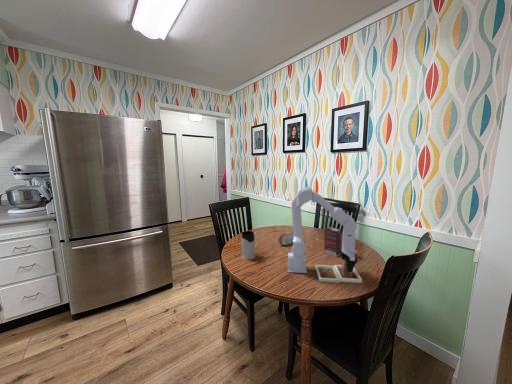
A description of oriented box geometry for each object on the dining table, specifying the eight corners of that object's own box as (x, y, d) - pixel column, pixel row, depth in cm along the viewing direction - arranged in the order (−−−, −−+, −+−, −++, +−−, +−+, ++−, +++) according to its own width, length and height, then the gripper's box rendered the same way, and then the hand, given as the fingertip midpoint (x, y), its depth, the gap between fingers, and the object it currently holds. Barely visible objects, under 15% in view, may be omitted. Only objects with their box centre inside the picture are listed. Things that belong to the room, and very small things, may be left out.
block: (343, 276, 103) (344, 263, 103) (341, 272, 107) (342, 259, 106) (352, 277, 103) (352, 263, 102) (349, 272, 107) (350, 260, 106)
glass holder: (238, 256, 128) (237, 233, 126) (254, 249, 138) (253, 227, 136) (248, 261, 122) (247, 236, 120) (264, 253, 132) (263, 230, 130)
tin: (295, 241, 152) (295, 230, 150) (298, 242, 149) (298, 231, 148) (278, 245, 144) (278, 233, 143) (281, 247, 141) (281, 235, 140)
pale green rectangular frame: (319, 281, 100) (319, 278, 99) (315, 267, 113) (315, 264, 113) (340, 282, 98) (340, 279, 98) (333, 268, 112) (333, 265, 111)
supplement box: (340, 254, 128) (341, 229, 126) (336, 256, 125) (337, 231, 123) (328, 250, 135) (328, 226, 133) (323, 252, 132) (324, 228, 130)
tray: (340, 281, 99) (340, 278, 99) (334, 267, 112) (334, 264, 112) (362, 282, 98) (362, 279, 98) (352, 268, 111) (353, 265, 111)
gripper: (362, 248, 95) (361, 275, 97) (352, 236, 109) (351, 261, 111) (346, 247, 96) (345, 275, 98) (338, 236, 110) (337, 260, 112)
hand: (347, 267), depth 105 cm, fingers open, 7 cm apart
